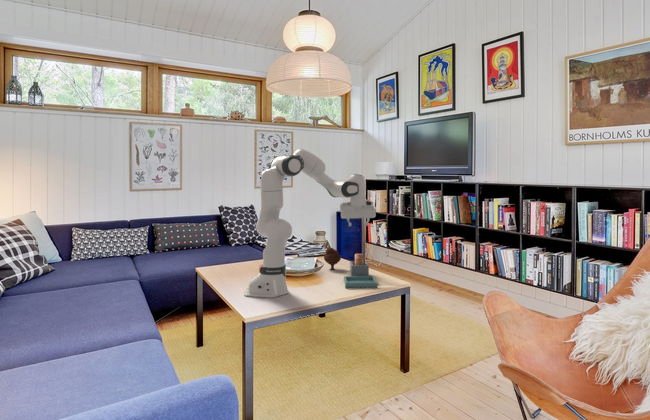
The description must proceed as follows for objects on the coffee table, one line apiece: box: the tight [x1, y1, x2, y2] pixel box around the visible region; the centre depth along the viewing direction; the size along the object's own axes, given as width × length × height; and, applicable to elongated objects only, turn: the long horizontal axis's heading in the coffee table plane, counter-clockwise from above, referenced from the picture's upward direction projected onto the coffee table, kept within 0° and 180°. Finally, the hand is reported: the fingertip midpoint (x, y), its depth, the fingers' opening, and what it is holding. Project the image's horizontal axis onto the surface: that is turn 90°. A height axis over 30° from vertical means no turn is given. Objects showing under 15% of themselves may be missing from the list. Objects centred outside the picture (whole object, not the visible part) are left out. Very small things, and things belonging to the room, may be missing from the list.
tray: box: [343, 275, 378, 289], centre depth 218 cm, size 17×14×3 cm
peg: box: [354, 253, 364, 265], centre depth 232 cm, size 5×5×13 cm
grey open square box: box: [349, 261, 370, 276], centre depth 232 cm, size 10×10×8 cm
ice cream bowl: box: [323, 247, 342, 271], centre depth 248 cm, size 11×11×15 cm
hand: (358, 225), depth 230 cm, fingers open, 8 cm apart
